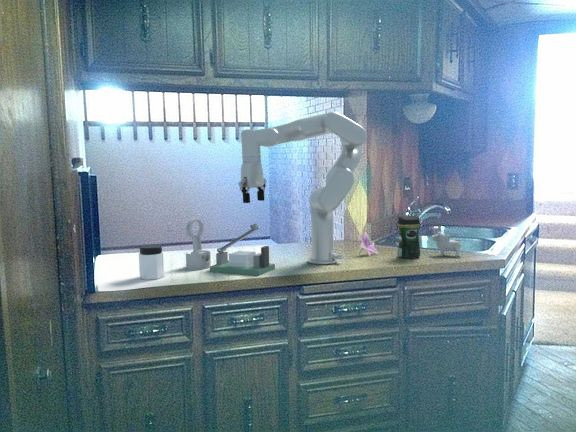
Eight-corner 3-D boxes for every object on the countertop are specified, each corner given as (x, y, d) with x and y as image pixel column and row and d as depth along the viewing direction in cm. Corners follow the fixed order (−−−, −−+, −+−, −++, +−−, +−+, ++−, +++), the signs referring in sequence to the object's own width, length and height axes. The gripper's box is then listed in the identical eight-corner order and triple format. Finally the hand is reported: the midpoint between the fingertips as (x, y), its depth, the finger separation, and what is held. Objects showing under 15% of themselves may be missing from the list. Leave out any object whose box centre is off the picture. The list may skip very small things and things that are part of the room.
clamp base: (274, 268, 217) (274, 244, 216) (259, 275, 204) (258, 249, 203) (227, 264, 226) (227, 241, 225) (209, 271, 213) (209, 246, 212)
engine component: (215, 266, 223) (199, 264, 229) (214, 217, 220) (198, 216, 227) (195, 271, 214) (179, 268, 221) (194, 220, 212) (177, 218, 218)
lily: (356, 259, 239) (366, 241, 236) (345, 245, 249) (355, 228, 246) (376, 265, 245) (387, 247, 242) (365, 251, 255) (375, 234, 252)
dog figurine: (432, 253, 246) (432, 230, 244) (461, 255, 241) (461, 231, 240) (430, 255, 241) (431, 232, 240) (460, 257, 236) (461, 233, 235)
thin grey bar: (259, 229, 213) (256, 223, 213) (254, 231, 209) (251, 224, 209) (223, 251, 220) (220, 245, 221) (218, 253, 216) (215, 247, 217)
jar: (167, 277, 203) (166, 246, 202) (147, 281, 198) (146, 249, 197) (156, 274, 210) (155, 243, 209) (136, 277, 205) (135, 246, 203)
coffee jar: (416, 255, 242) (416, 214, 240) (422, 258, 234) (422, 216, 232) (395, 256, 241) (395, 214, 239) (400, 259, 233) (401, 216, 231)
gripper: (257, 159, 228) (259, 199, 230) (230, 161, 214) (233, 203, 216) (271, 158, 224) (273, 199, 226) (245, 160, 209) (248, 204, 211)
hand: (253, 201), depth 221 cm, fingers open, 9 cm apart
